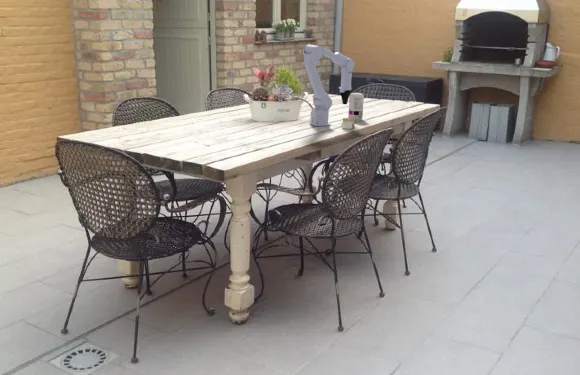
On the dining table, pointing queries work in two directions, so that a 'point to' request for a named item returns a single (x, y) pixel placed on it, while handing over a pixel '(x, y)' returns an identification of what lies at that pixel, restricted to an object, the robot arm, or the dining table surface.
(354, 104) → the supplement can
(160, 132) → the dining table surface
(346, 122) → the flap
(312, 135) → the dining table surface
